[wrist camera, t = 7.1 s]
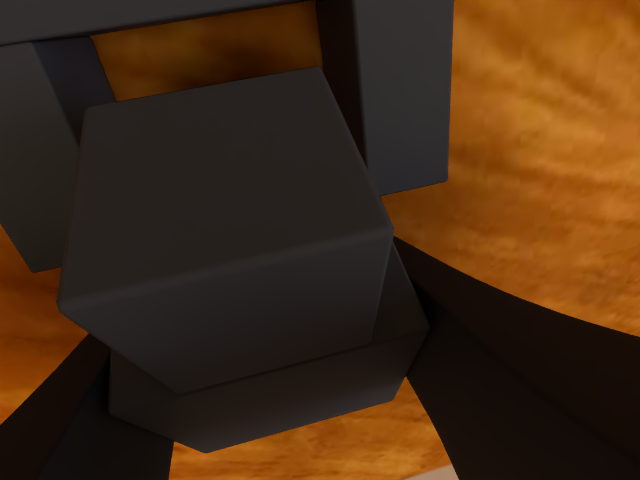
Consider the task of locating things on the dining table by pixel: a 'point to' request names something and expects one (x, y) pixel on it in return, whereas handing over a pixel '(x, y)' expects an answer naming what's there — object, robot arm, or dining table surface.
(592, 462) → the robot arm
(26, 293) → the dining table surface
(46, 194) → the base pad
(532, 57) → the dining table surface
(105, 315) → the pad
